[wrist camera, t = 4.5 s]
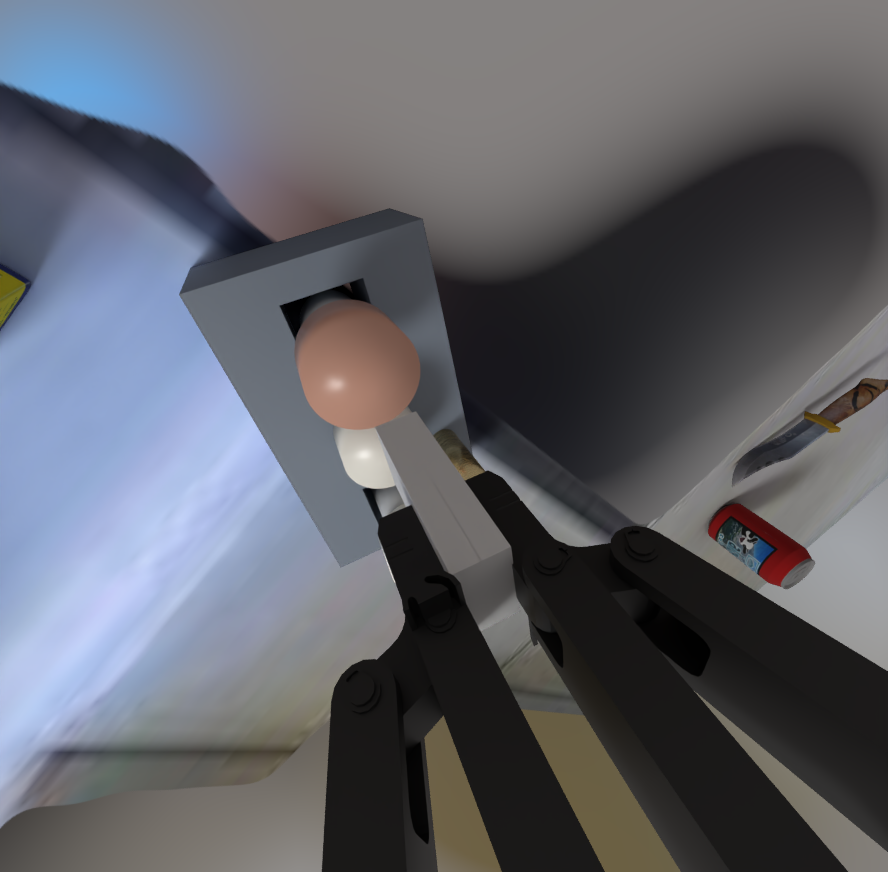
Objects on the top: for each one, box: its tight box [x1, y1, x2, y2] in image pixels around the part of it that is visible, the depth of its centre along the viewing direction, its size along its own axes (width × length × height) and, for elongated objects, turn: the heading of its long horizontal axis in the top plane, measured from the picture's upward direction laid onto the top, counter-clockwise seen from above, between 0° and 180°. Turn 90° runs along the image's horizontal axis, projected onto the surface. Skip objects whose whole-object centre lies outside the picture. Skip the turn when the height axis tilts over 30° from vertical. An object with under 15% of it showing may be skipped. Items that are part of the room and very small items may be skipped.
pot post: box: [433, 429, 485, 481], centre depth 27 cm, size 2×2×6 cm
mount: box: [179, 209, 473, 567], centre depth 29 cm, size 12×21×6 cm, turn 12°
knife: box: [732, 378, 888, 487], centre depth 57 cm, size 25×1×5 cm, turn 122°
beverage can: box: [708, 504, 815, 589], centre depth 62 cm, size 7×7×12 cm
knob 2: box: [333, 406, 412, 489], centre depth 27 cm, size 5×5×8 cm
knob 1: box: [294, 290, 420, 430], centre depth 21 cm, size 5×5×8 cm
